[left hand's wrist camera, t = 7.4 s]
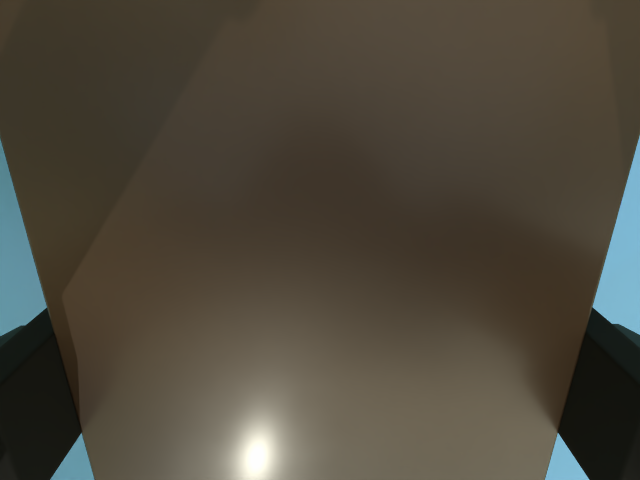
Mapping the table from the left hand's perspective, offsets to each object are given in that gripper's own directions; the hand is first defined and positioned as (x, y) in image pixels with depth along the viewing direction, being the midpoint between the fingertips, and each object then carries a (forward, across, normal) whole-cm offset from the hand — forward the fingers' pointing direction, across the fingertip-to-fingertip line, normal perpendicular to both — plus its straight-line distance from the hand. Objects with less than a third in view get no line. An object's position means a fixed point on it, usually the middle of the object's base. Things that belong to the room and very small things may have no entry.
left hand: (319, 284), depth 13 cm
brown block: (+4, 0, -5) cm, 6 cm away
